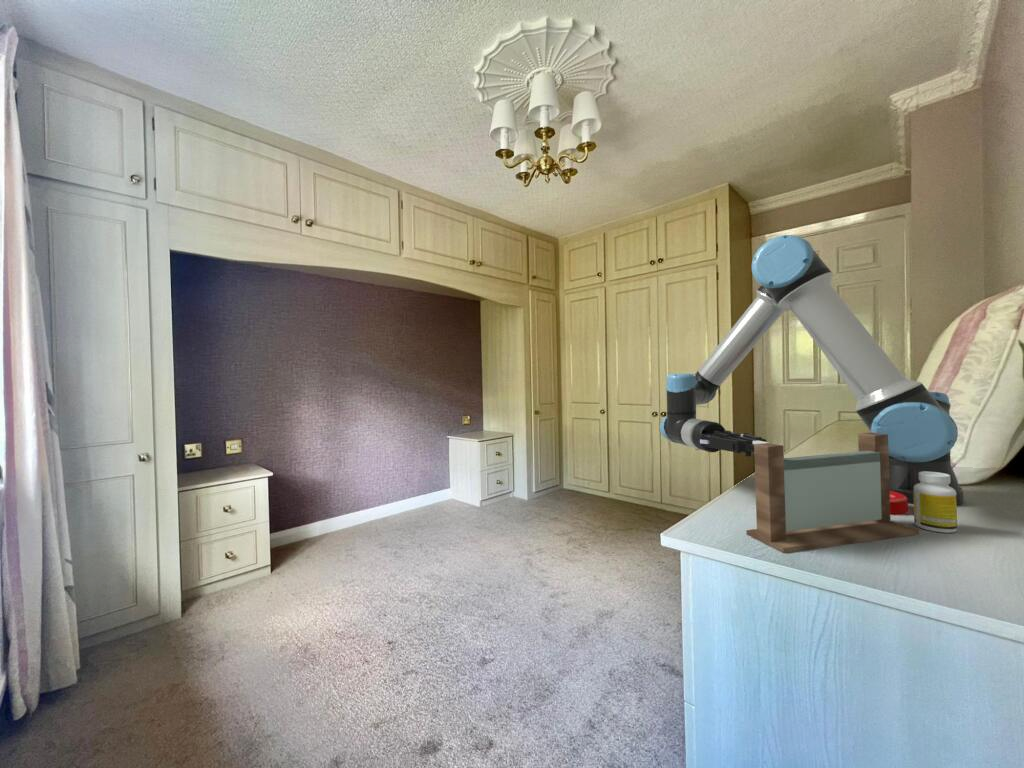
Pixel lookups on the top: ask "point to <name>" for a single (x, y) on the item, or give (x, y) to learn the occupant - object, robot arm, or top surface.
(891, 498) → the decorative ornament
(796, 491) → the gate
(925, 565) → the top surface
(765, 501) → the gate frame
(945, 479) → the supplement bottle
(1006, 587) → the top surface
